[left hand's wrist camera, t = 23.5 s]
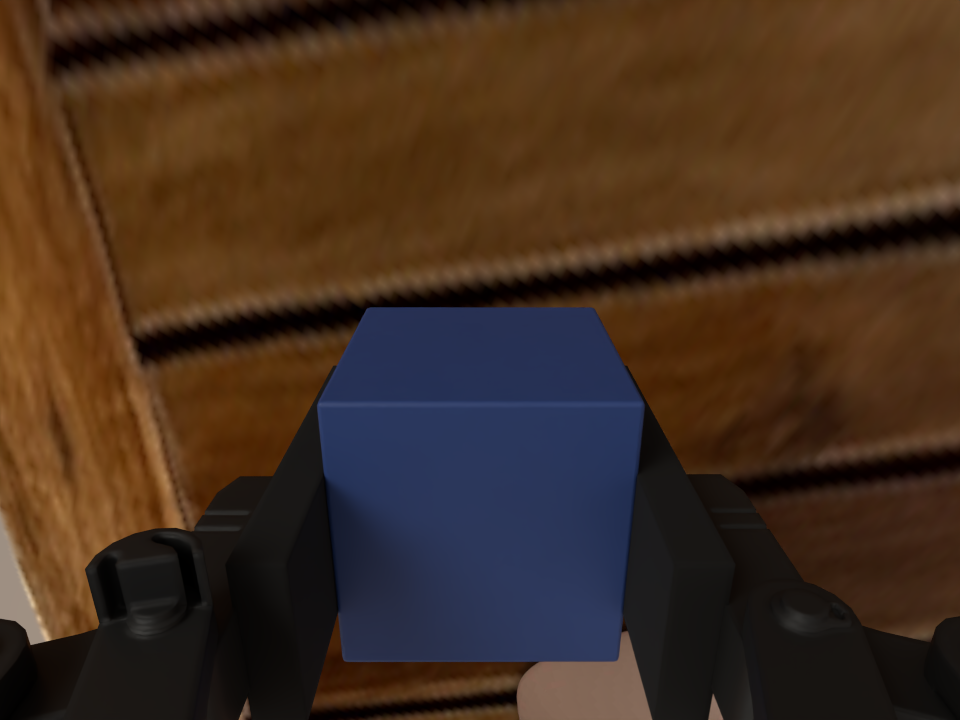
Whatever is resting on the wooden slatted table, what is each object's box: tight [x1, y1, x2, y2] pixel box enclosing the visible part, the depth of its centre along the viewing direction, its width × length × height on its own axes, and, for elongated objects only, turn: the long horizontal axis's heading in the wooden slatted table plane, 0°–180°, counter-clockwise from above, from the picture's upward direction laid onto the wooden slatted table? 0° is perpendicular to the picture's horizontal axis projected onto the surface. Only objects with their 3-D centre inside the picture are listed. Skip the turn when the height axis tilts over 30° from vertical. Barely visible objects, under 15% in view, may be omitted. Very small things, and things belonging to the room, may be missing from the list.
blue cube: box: [317, 308, 645, 662], centre depth 13 cm, size 5×5×5 cm
